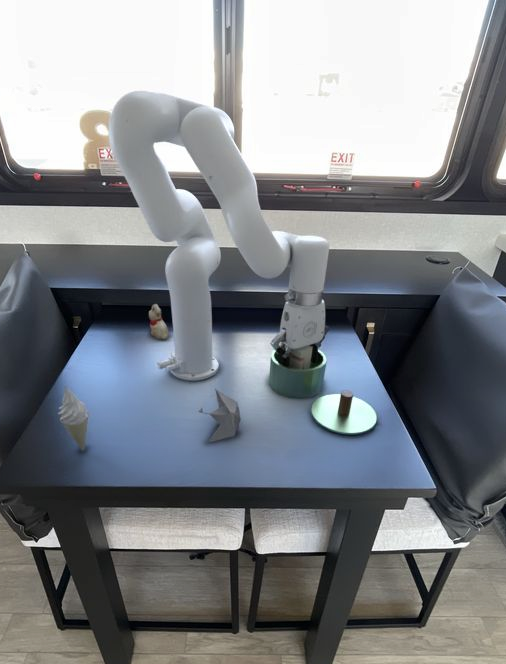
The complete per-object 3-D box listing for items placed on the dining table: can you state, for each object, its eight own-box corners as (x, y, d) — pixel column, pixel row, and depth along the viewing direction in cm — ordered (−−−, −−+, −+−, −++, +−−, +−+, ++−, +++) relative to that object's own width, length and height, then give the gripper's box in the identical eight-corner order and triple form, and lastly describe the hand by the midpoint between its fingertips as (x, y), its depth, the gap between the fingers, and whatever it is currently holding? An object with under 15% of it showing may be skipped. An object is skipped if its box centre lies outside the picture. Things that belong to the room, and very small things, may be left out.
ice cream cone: (72, 442, 83) (56, 378, 75) (98, 441, 84) (84, 378, 76) (66, 459, 79) (47, 394, 71) (93, 458, 79) (78, 393, 71)
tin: (291, 404, 96) (294, 376, 92) (258, 377, 105) (260, 351, 101) (333, 388, 102) (338, 361, 98) (299, 364, 111) (302, 339, 107)
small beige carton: (281, 380, 103) (284, 344, 98) (292, 374, 106) (296, 338, 100) (297, 389, 100) (301, 352, 95) (308, 382, 103) (313, 346, 97)
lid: (341, 445, 84) (346, 421, 81) (297, 409, 94) (300, 387, 91) (389, 423, 90) (396, 400, 87) (343, 391, 100) (347, 370, 97)
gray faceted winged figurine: (242, 442, 82) (197, 435, 80) (233, 450, 88) (191, 444, 86) (247, 388, 87) (204, 379, 85) (238, 399, 93) (198, 391, 91)
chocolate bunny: (169, 328, 128) (166, 297, 123) (168, 340, 122) (166, 307, 116) (150, 329, 128) (147, 298, 122) (149, 340, 121) (146, 308, 116)
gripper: (283, 309, 84) (277, 381, 94) (346, 294, 92) (334, 362, 102) (262, 297, 90) (259, 367, 99) (323, 284, 98) (314, 350, 107)
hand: (297, 364), depth 101 cm, fingers open, 8 cm apart
